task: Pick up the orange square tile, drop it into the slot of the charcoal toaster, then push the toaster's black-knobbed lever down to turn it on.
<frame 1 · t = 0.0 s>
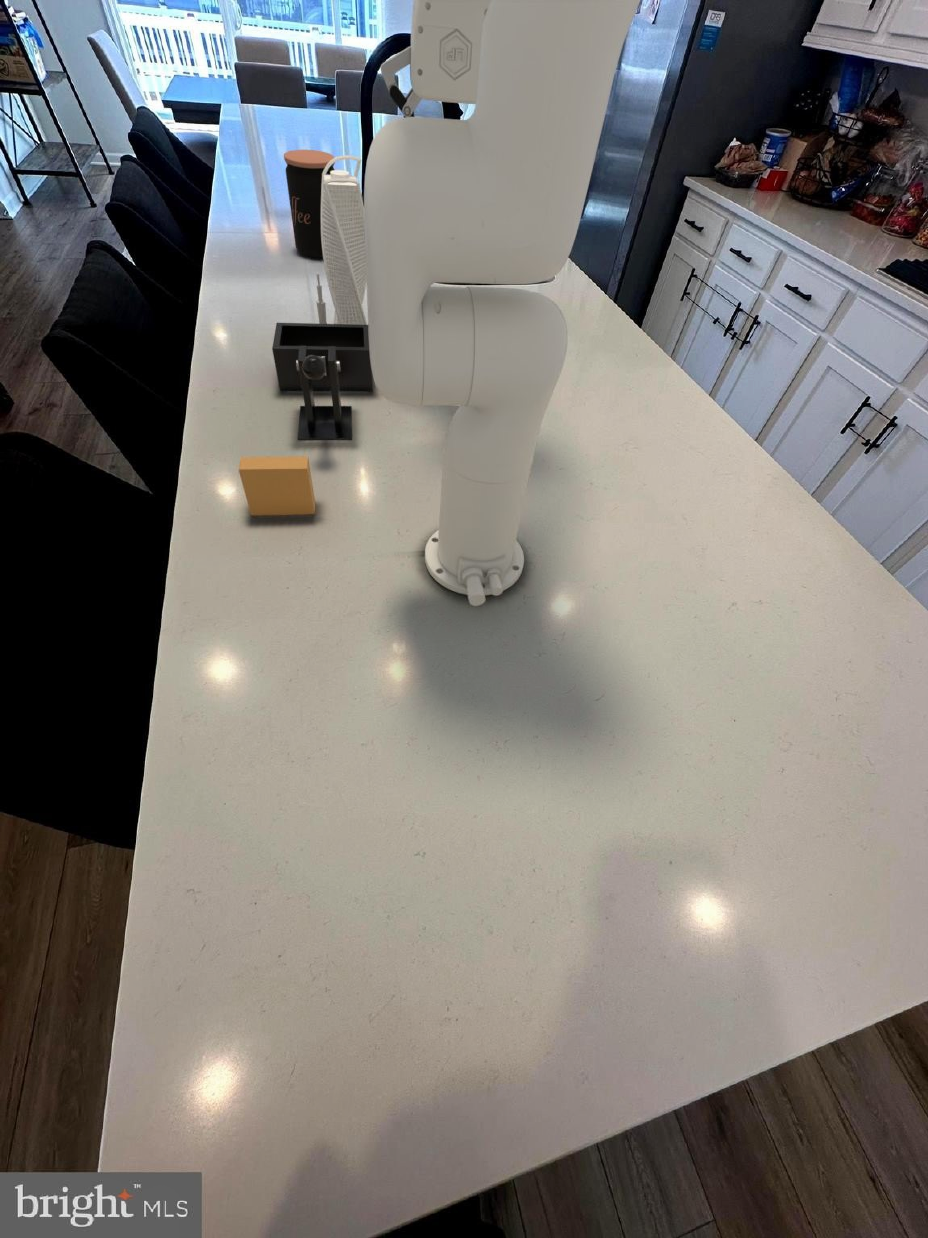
hand: (447, 157, 75), 31 cm above the worktop, tool pointing down, fingers open, 9 cm apart
toaster: (327, 382, 96), on the worktop
lever bracket: (326, 428, 87), on the worktop
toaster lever: (316, 366, 76), point 12 cm above the worktop, hinge at 25.0°
skyscraper: (351, 350, 104), on the worktop
orange square tile: (284, 513, 74), on the worktop
coffee jar: (319, 253, 132), on the worktop
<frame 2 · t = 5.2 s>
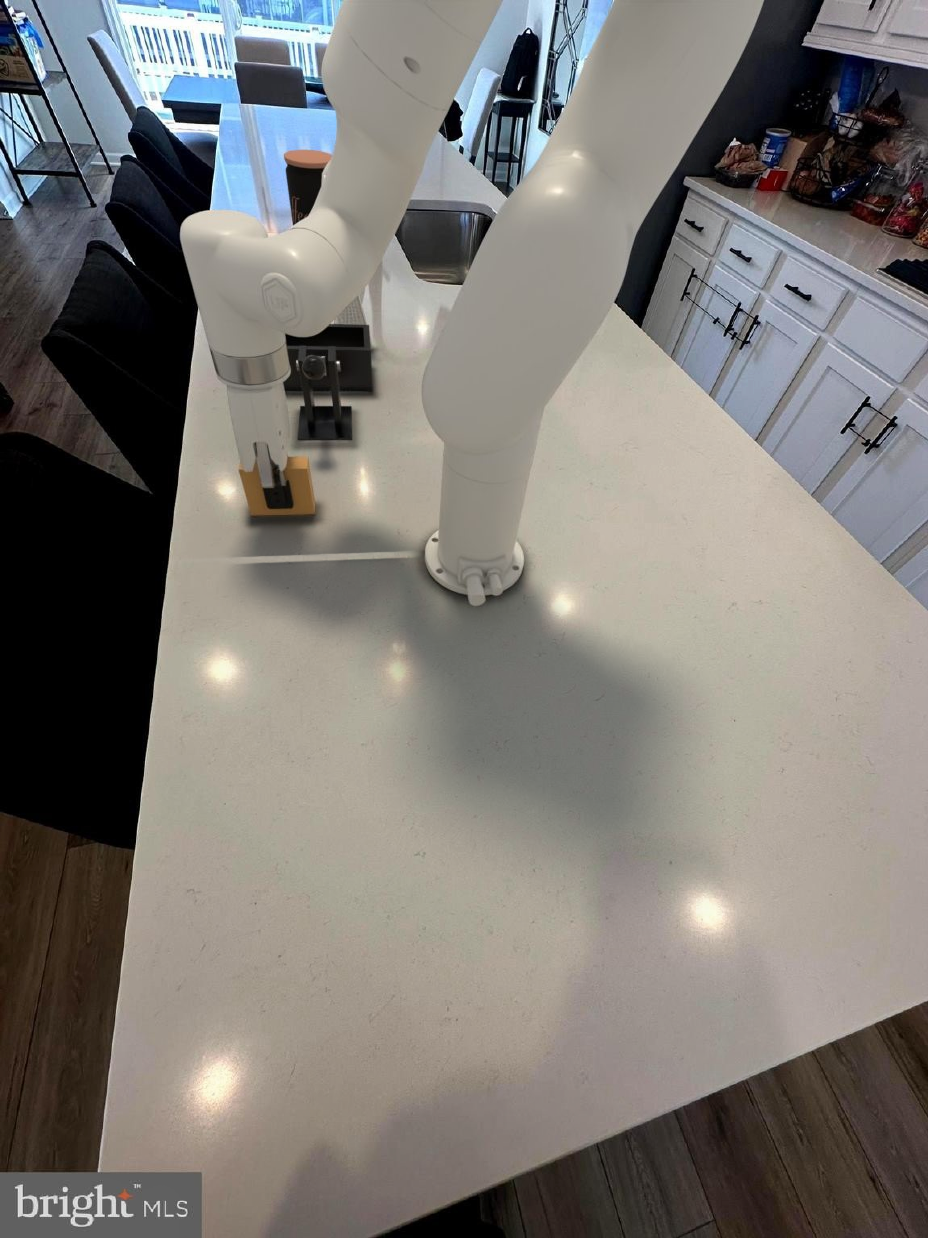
hand: (281, 498, 72), 3 cm above the worktop, tool pointing down, fingers closed on orange square tile, 2 cm apart
orange square tile: (284, 513, 74), on the worktop, touching gripper
everything else where it was.
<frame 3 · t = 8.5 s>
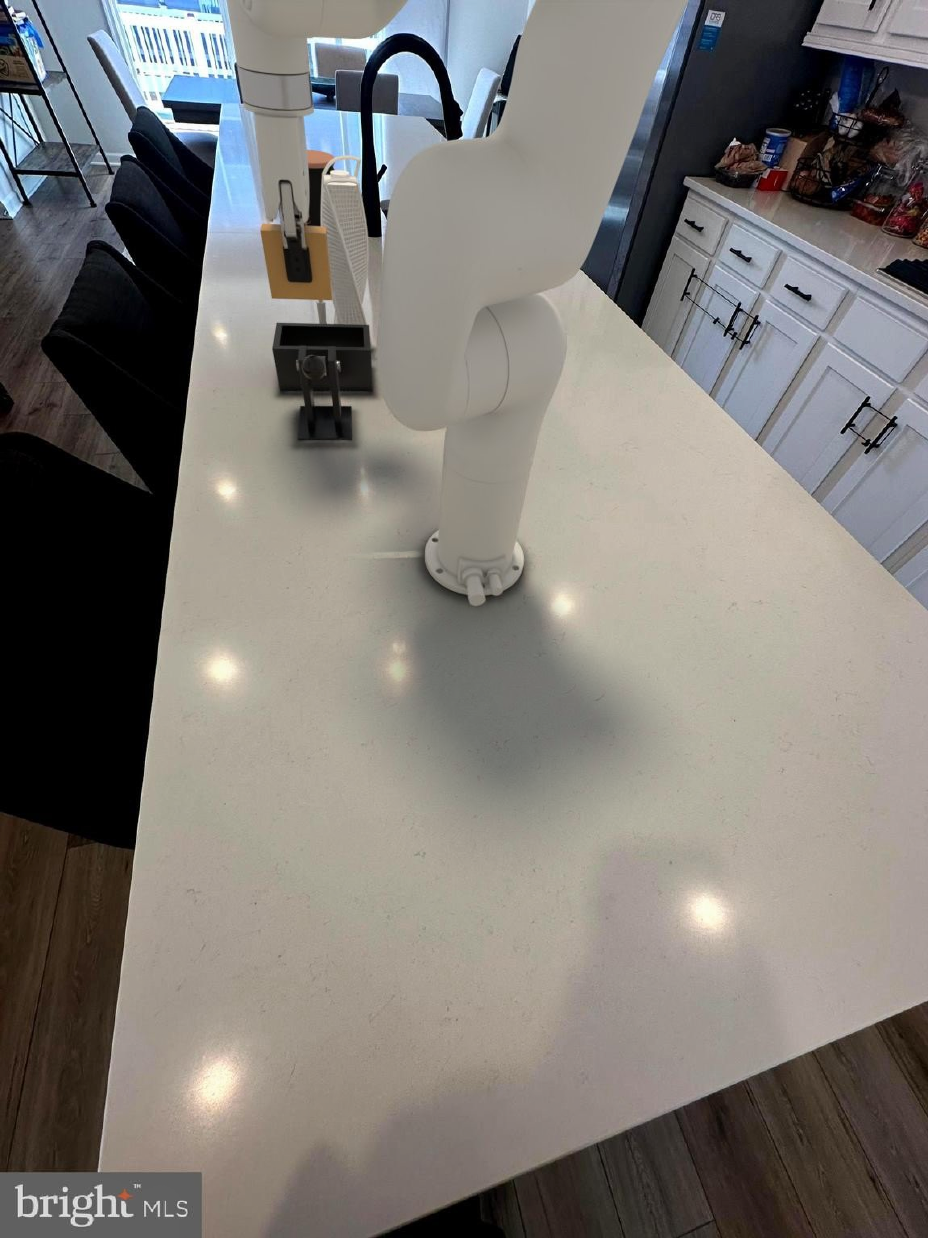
hand: (300, 275, 75), 20 cm above the worktop, tool pointing down, fingers closed on orange square tile, 2 cm apart
orange square tile: (302, 295, 77), point 17 cm above the worktop, touching gripper
everything else where it was.
when the fingers open (8 cm above the worktop, at t = 12.2 s): orange square tile drops 5 cm, resting on toaster.
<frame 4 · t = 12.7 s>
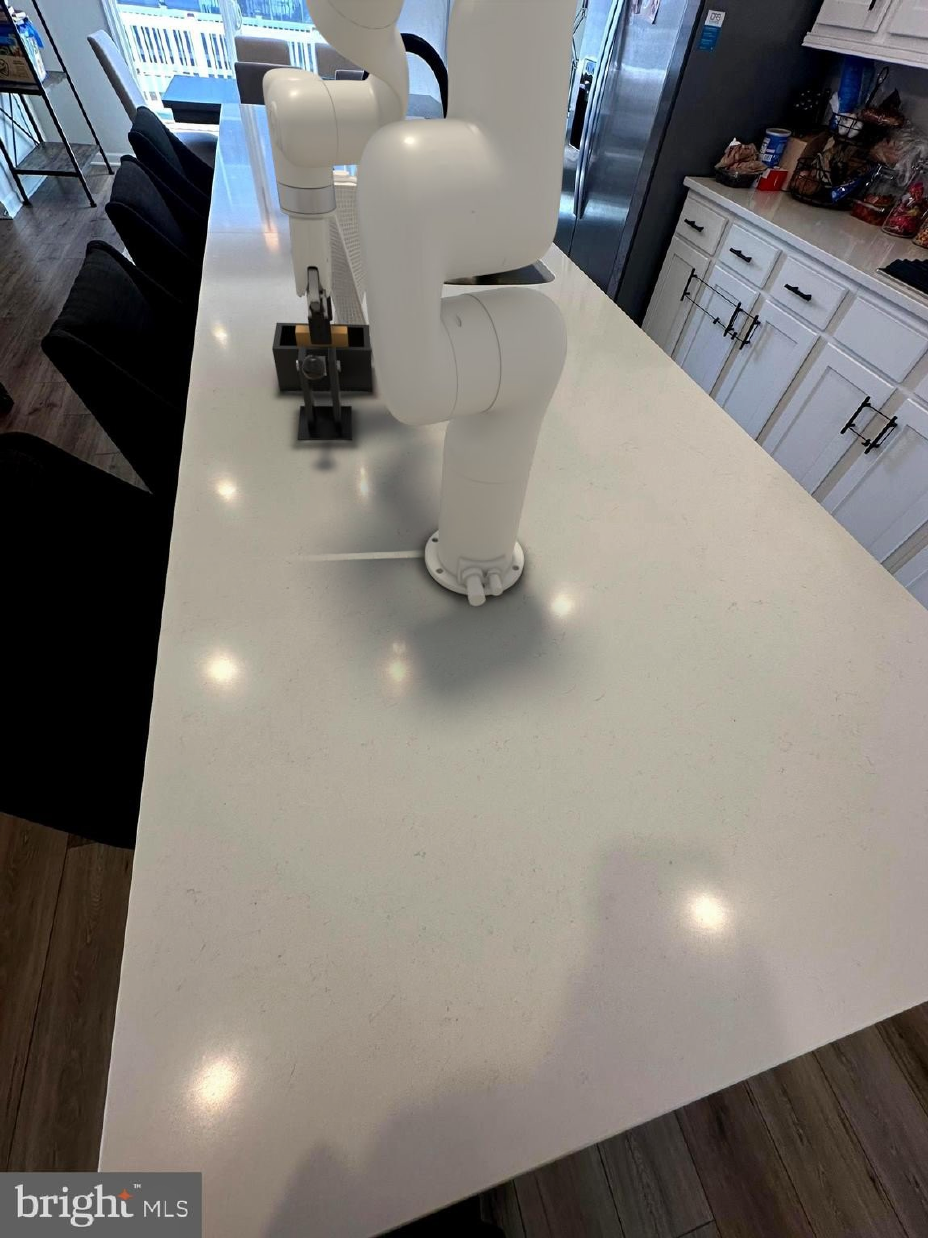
hand: (322, 330, 89), 9 cm above the worktop, tool pointing down, fingers open, 7 cm apart
orange square tile: (326, 377, 95), point 1 cm above the worktop, touching toaster
everything else where it was.
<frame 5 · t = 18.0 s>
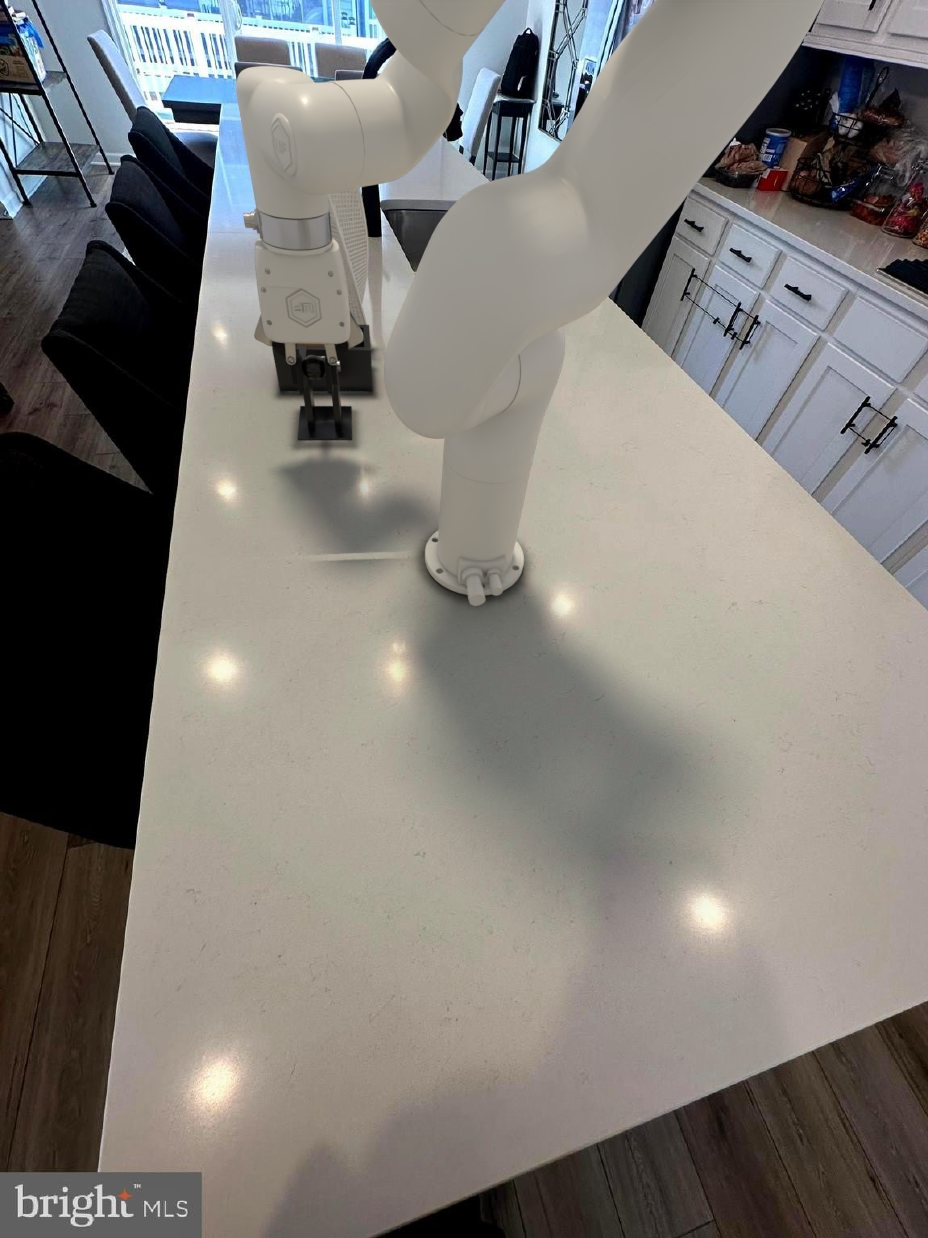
hand: (316, 387, 74), 11 cm above the worktop, tool pointing down, fingers closed on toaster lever, 3 cm apart
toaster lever: (316, 366, 76), point 12 cm above the worktop, hinge at 25.0°, touching gripper
everything else where it was.
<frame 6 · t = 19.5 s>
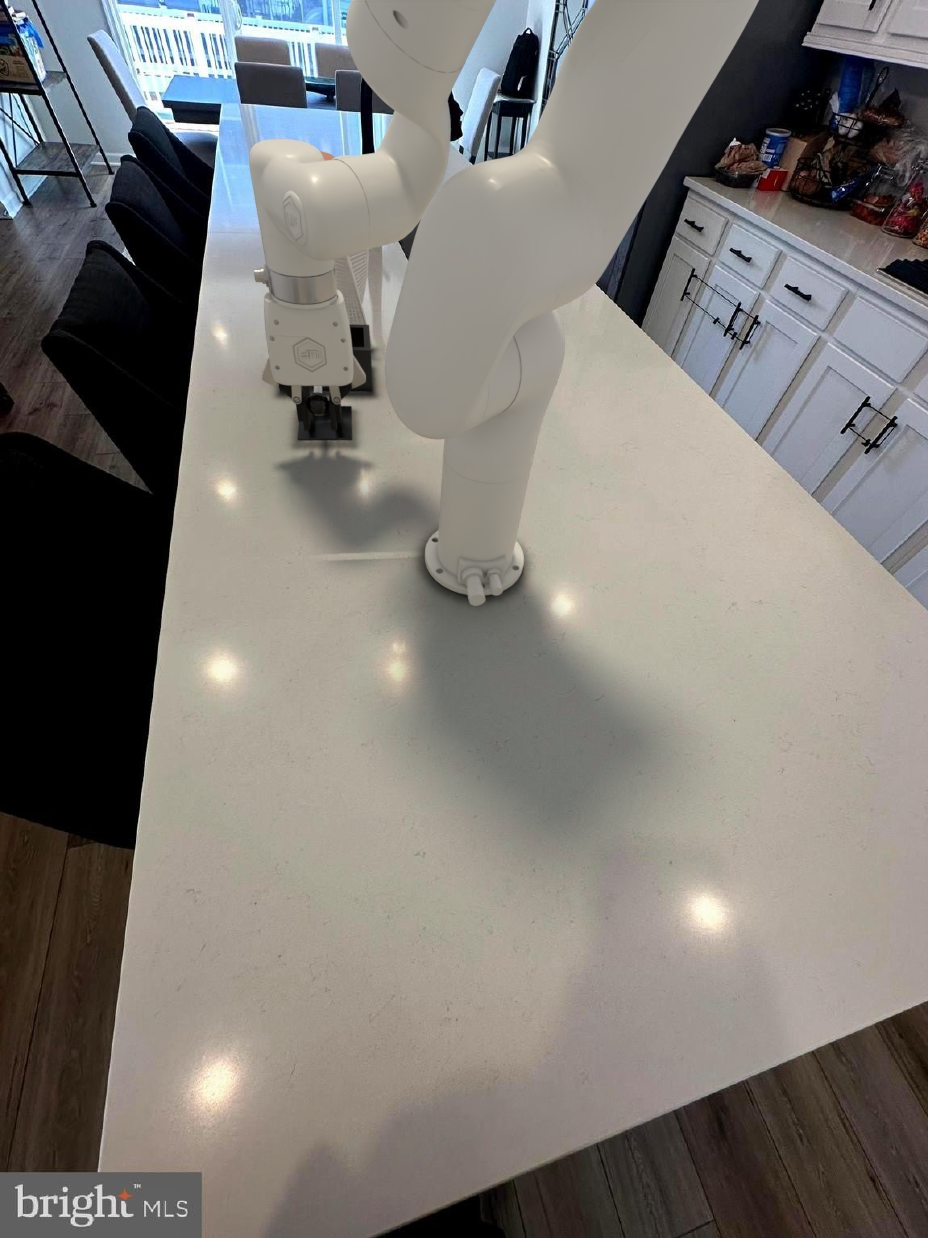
hand: (320, 424, 78), 5 cm above the worktop, tool pointing down, fingers closed on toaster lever, 3 cm apart
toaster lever: (318, 384, 77), point 9 cm above the worktop, hinge at -9.7°, touching gripper
everything else where it was.
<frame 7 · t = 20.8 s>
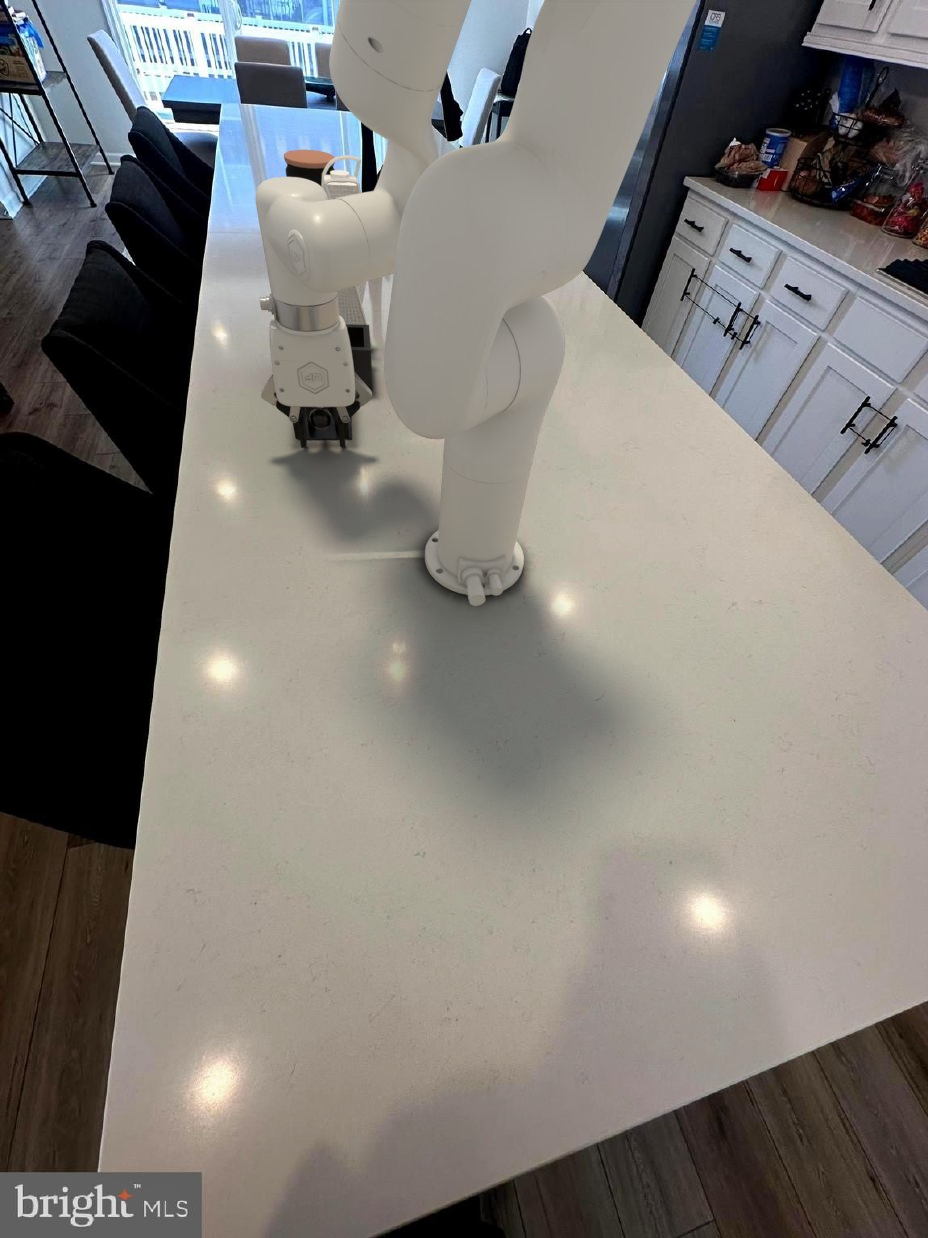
hand: (323, 441, 81), 2 cm above the worktop, tool pointing down, fingers open, 4 cm apart
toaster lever: (319, 391, 79), point 8 cm above the worktop, hinge at -30.1°
everything else where it was.
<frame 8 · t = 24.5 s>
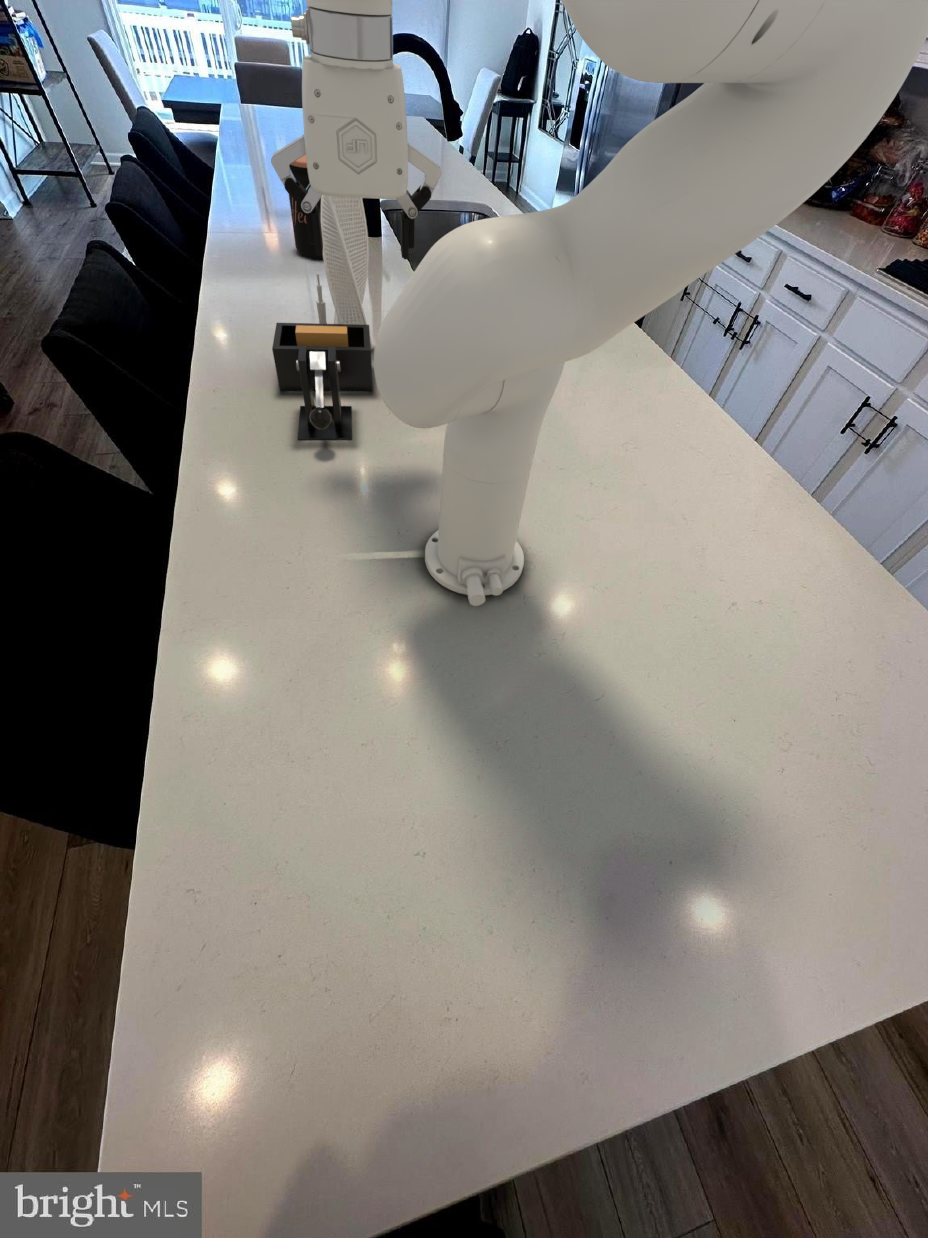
hand: (362, 253, 64), 26 cm above the worktop, tool pointing down, fingers open, 9 cm apart
nothing on the worktop moved.
at the end: orange square tile inside the target area in the toaster (0.1 cm from its centre), point 0.8 cm above the toaster's base; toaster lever at -30° (first picture: +25°) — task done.
